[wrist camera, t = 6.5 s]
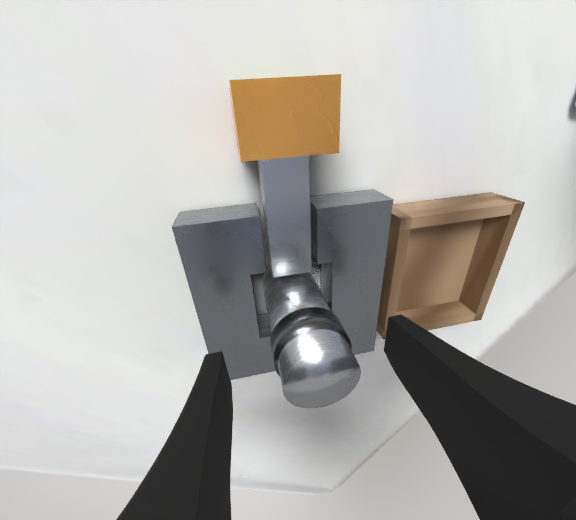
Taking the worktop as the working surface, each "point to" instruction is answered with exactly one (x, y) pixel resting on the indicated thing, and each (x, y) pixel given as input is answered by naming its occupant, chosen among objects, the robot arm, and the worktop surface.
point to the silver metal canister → (308, 342)
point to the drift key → (286, 154)
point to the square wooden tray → (445, 258)
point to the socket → (250, 260)
